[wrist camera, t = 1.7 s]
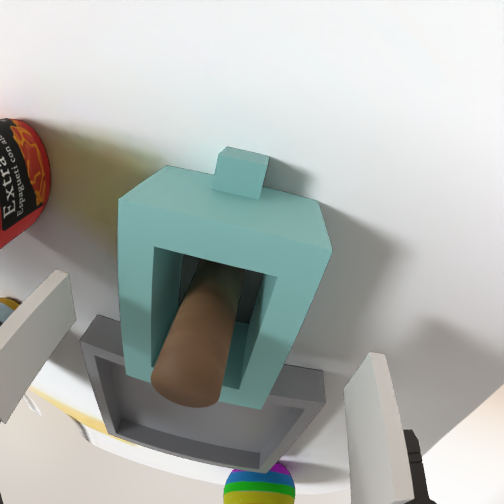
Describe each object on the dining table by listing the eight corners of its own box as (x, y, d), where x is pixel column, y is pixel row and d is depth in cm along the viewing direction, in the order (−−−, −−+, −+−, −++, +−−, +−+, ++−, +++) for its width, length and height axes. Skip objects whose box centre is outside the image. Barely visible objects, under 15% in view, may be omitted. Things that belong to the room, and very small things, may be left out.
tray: (116, 413, 27) (108, 433, 24) (97, 314, 20) (79, 340, 17) (267, 451, 27) (266, 473, 25) (322, 371, 20) (325, 402, 18)
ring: (154, 317, 19) (126, 374, 15) (171, 136, 13) (121, 157, 9) (266, 345, 19) (261, 409, 15) (326, 172, 14) (348, 209, 9)
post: (197, 281, 17) (151, 396, 10) (203, 243, 16) (149, 357, 9) (240, 292, 17) (214, 413, 10) (249, 254, 16) (225, 377, 9)
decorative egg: (243, 478, 33) (235, 540, 24) (216, 456, 29) (203, 530, 21) (303, 473, 31) (300, 541, 22) (284, 452, 27) (279, 534, 19)
